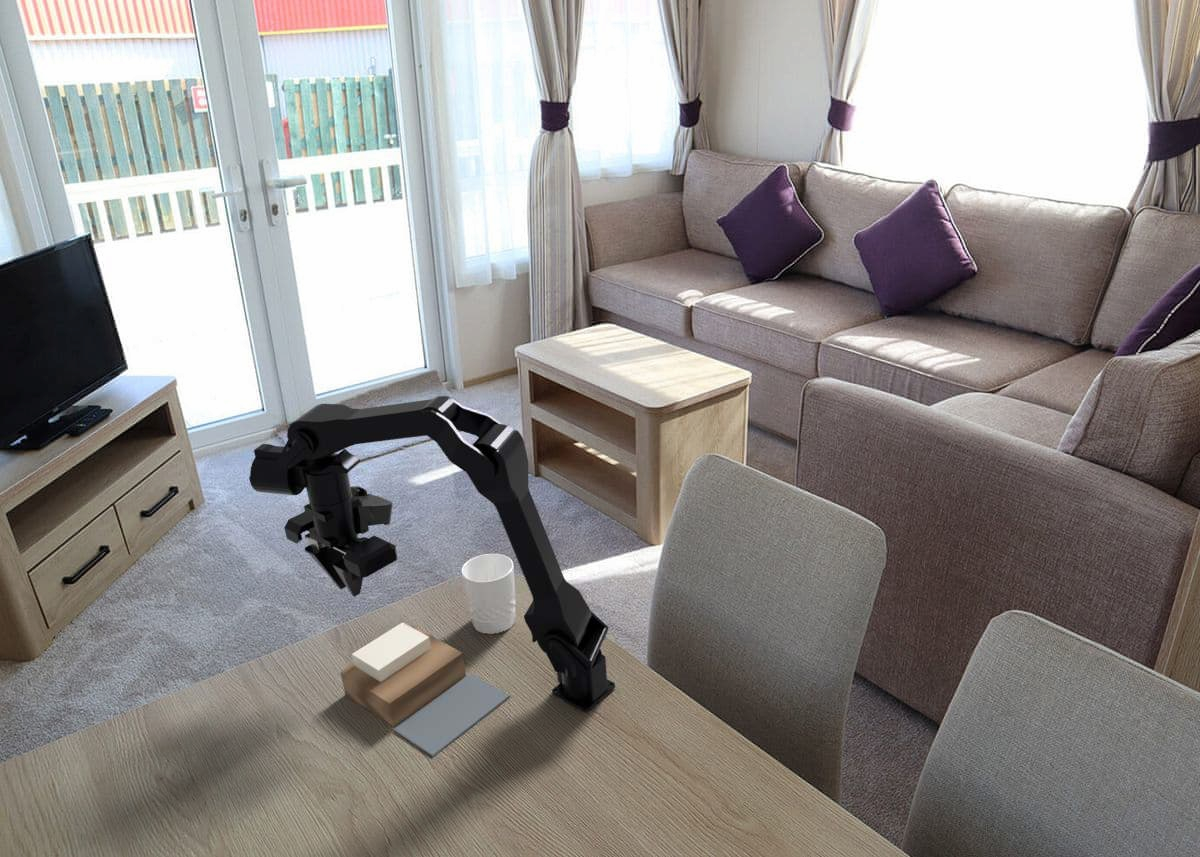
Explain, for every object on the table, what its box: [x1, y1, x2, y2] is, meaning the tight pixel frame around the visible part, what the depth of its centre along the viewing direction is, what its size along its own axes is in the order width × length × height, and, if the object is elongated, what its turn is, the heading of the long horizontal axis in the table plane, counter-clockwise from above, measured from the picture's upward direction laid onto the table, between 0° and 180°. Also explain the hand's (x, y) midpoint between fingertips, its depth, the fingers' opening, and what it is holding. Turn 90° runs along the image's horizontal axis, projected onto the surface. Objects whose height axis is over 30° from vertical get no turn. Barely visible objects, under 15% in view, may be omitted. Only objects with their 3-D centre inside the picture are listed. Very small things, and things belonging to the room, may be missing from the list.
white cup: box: [461, 553, 517, 635], centre depth 142 cm, size 8×8×10 cm
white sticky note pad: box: [351, 622, 431, 682], centre depth 131 cm, size 6×9×2 cm, turn 140°
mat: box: [393, 672, 511, 757], centre depth 126 cm, size 8×14×1 cm, turn 140°
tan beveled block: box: [340, 625, 467, 728], centre depth 131 cm, size 11×13×4 cm
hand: (349, 591), depth 133 cm, fingers open, 3 cm apart
